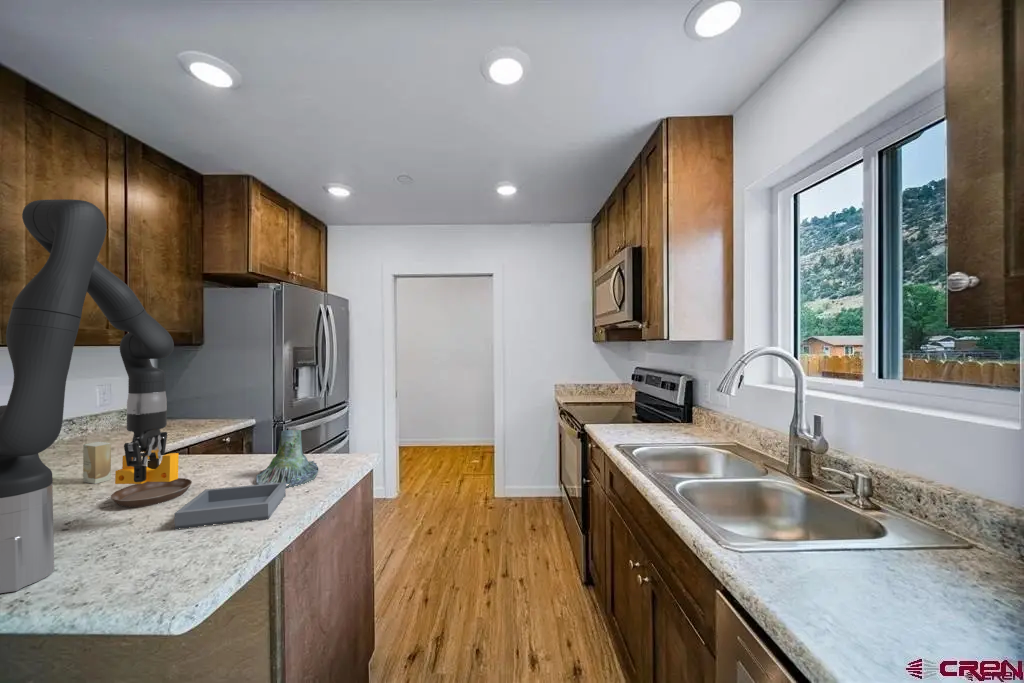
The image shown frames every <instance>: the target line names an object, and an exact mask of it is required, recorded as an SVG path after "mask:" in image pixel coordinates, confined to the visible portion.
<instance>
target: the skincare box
mask: <svg viewBox="0 0 1024 683" xmlns="http://www.w3.org/2000/svg"><path fill="white" fill-rule="evenodd" d="M82 448H83V449H82V450H83V451H82V453H83V454H82V457H83V458H82V462H83V463H82V464H83V465H82V467H83V468H82V482H83V483H88V484H99V483H103V482H107V481H110V480H112V443H111V442H105V441H104V442H103V441H95V442H90V443H86V444H82Z"/></svg>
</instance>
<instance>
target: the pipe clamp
mask: <svg viewBox="0 0 1024 683" xmlns="http://www.w3.org/2000/svg"><path fill="white" fill-rule="evenodd" d="M179 456H180V454H179V452H177V453H176V452H171V453H170V452H169V453H167V454H164V455H161V461H160V462H159V466H158V467H157V468H156V469H151V468H148V467H147V470H146V480H145V481H143V482H134V467H132V466H127V462H126V456H125V454H124V455H122V462H121V463H122V464H121V466H122V468H120V469H117V470H115V472H114V473H115V474H114V484H115V485H135V484H143V483H145V482H170V481H173V480H176V479H178V478H179V461H180V460H179V458H180V457H179ZM132 460H133V457H132Z"/></svg>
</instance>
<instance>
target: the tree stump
mask: <svg viewBox="0 0 1024 683" xmlns="http://www.w3.org/2000/svg"><path fill="white" fill-rule="evenodd" d="M302 443H303V442H302V430H301V429H300V430H299V429H290V430H281V433H280V438H279V444H278V448H277V451H276V452H277V453H276V455H275V456H274V457H273V458H272V459H271V461H270V464H269V465H268V466H267V467H266V468H265V469H262V470H261V471H259V472H258V474H256V485H260V484H271V483H281V482H285V485H286V484H289V485H288V486H286V489H290V488H289V487H292V488H295V487H294V486H297V487H299V486H298V485H300V486H302V485H301V484H303V485H306V484H308V483H310V482H312V481H311V480H313V481H314V480H315V479H316V478H317V475H318V474H319V466H318V465H317V464H318V463H317V462H315V461H314V460H310V461H308V457H307V456H306V454H304V453H303V445H302ZM309 481H310V482H309ZM307 482H308V483H307ZM305 483H306V484H305Z"/></svg>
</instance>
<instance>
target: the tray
mask: <svg viewBox="0 0 1024 683" xmlns="http://www.w3.org/2000/svg"><path fill="white" fill-rule="evenodd" d="M286 489H287V488H286V485H285V482H281V483H271V484H260V485H257V484H250V485H249V484H248V485H241V486H239V485H238V486H229V487H217V488H210V489H209V488H206V489H204V490H203V491H201V492H200V493H199V494H198V495H196V496H195V497H193V499H191V500H190V501H188V502H186V504H185V505H183V506H182V507H181V508H179V509H178V510H176V512H174V530H175V529H178V530H180V529H179V528H187V529H190V528H189V527H196V528H199V527H198V526H204V525H213V524H223V523H232V524H234V523H233V522H240V523H245V522H244V521H249V522H253V521H252V520H258V521H266V519H267V520H269V519H270V518H271V516H272V515H273V513H275V511H276V510H277V508H278V507H279V506H280V504H281V503H282V502H281V501H283V500H284V499H285V498H286V496H287V494H286V493H287V492H286V491H287V490H286ZM283 498H284V499H283ZM278 505H279V506H278ZM223 525H224V524H223Z"/></svg>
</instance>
